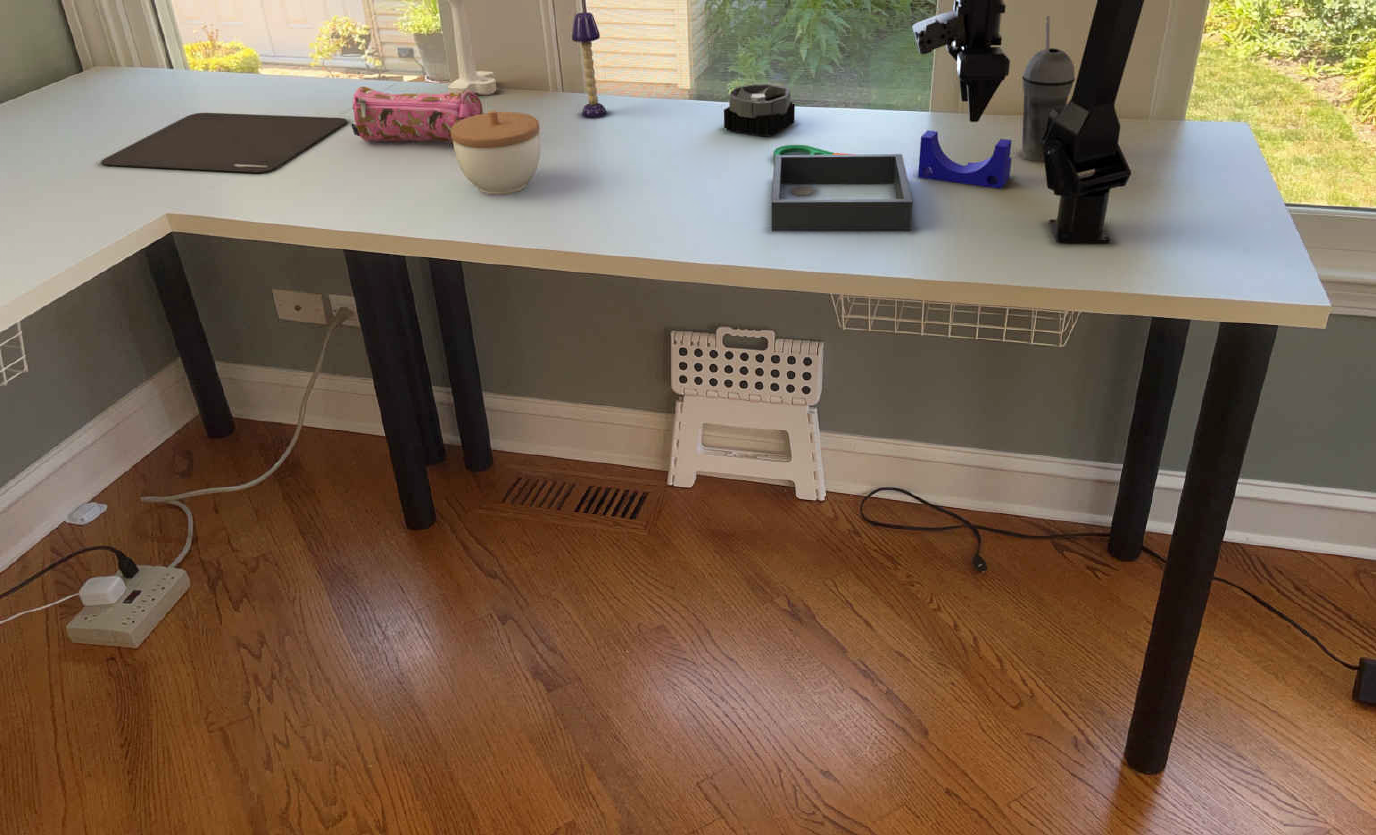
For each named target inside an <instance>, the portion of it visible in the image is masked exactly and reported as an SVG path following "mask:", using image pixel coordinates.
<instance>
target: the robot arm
mask: <svg viewBox="0 0 1376 835" xmlns="http://www.w3.org/2000/svg"><path fill="white" fill-rule="evenodd" d="M1144 3H1145V0H1096V5H1095V8H1094V12H1093V15H1092V20H1091V24H1090V26H1089V31H1088V34H1087V37H1086V38H1087V39H1086V42H1085V46H1084V50H1083V54H1082V58H1081V61H1080V65H1079V69H1078V72H1077V77H1076V79H1075V84H1074V88H1073V92H1072V95H1071V99H1070V100H1069V101H1067V103H1066V106H1062V107H1058V108H1053V109H1051V111H1050V113H1049V115H1048V121H1047V128H1046V131H1045V133H1044V135H1043V137H1042V140H1045V143H1044V147H1043V156H1044V161H1043V162H1044V169H1045V170H1044V172H1045V179H1046V187H1047V189H1049V190H1051V191H1053V195H1055V196H1059V204H1058V209H1057V217H1056V219H1055V218H1054V219H1049V220H1048V222H1047V223H1048V226H1049V228H1050V231H1051V232H1052V234H1053V237H1054V239H1055V241H1056V242H1057V243H1060V244H1062V243H1063V244H1066V243H1067V244H1079V243H1080V244H1107V243H1110V242H1111V239H1112V238H1111V236H1110V235H1109V232H1108V231H1107V228H1105V222H1106V221H1105V220H1106V215H1107V209H1108V204H1109V199H1110V192H1111V189H1115V188H1119V187H1121V188H1122V187H1125V186H1126V185H1127V183H1128V181H1129V179H1130V178H1131V176H1132V171H1131V168H1130V166H1129V164H1128V162H1127V160H1126V157H1125V155H1124V153H1123V151H1122V149H1121V147H1120V144H1119V139H1120V134H1121V133H1120V132H1121V123H1120V119H1119V116H1118V113H1117V110H1116V107H1115V105H1116V100H1117V96H1118V93H1119V89H1120V86H1121V82H1122V79H1123V75H1124V72H1125V70H1126V69H1125V68H1126V65H1127V62H1128V60H1129V59H1128V58H1129V54H1130V52H1131V48H1132V45H1133V41H1134V38H1135V34H1136V30H1137V28H1138V25H1139V21H1140V17H1141V13H1142V10H1143V5H1144ZM1006 6H1007V5H1006V3H1005V2H1004V0H953V7H952V8H953V9H952V10H949V11H946V12H943V13H939V14H936V15H934V16H931V17H929V18H925V19H923V20H920V21H918V22H916V23H914V24H913V25H912V26H911V27H912V31H913V34H914V37H915V42H916V45H917V48H918V51H919V54H920V55H928V54H930V53H932V51H934V50H936V49H940V48H943V47H944V46H946V50H947V52H948V54H950V56H951V57H952V58H953V59H954V60H955V61H956V74H957V76H958V82H959V83H958V84H959V91H960V99H961V101H962V102H967V104H968V106H967V108H968V117H969V118H968V119H969V122H971V123H978V122H979V121H980V119H981V118H982V116H983V114H984V112H985V110H986V108H987V107H988V105H989V103H990V102H991V100H992V98H993V96H994V95H995V93H996V92H997V90H998V88H999V87H1000V85H1001V84H1002V82H1003V81H1004V80H1005V79H1006V77H1008V76H1009V75H1010V74H1009V72H1010V66H1011V60H1010V58H1009V57H1008V54H1007V53H1006V52H1005V51H1004V50H1003V48H1001V47H1000V46H1002V41H1003V37H1002V35H1001V24H1002V14H1005V13H1006ZM1092 170H1094V171H1092ZM1088 171H1092V172H1088ZM1085 172H1087V173H1085ZM1081 173H1083V174H1081Z"/></svg>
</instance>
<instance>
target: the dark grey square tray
mask: <svg viewBox="0 0 1376 835" xmlns="http://www.w3.org/2000/svg"><path fill="white" fill-rule="evenodd" d="M772 172H773V174H772V187H771V189H772V190H771V203H770V204H771V207H770V208H771V210H770V211H771V217H770V218H771V226H770V227H771V228H770V229H771V230H770V231H771V232H910V231H911V229H912V228H911V227H912V215H913V214H912V212H913V198H912V194H911V189H910V185H909V180H908V176H907V171H906V166H905V163H904V157H903V154H902V153H879V154H878V153H876V154H872V153H870V154H869V153H868V154H867V153H865V154H858V155H810V154H783V155H775V156H774V155H773V171H772ZM838 184H839V185H843V184H844V185H849V184H850V185H853V184H856V185H860V184H868V185H869V184H870V185H871V184H873V185H874V184H893V188H894V192H895V197H896V198H871V199H870V198H861V199H860V198H859V199H858V198H857V199H856V198H847V199H846V198H844V199H843V198H842V199H840V198H839V199H838V198H837V199H826V198H825V199H817V198H816V199H781V196H782V185H838ZM813 192H814V191H813V189H812V188H810V187H806V186H805V187H804V186H801V187H795V188H793V189H791V194H792V195H795V196H801V197H802V196H803V197H804V196H809V195H812V194H813Z"/></svg>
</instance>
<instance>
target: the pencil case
mask: <svg viewBox="0 0 1376 835" xmlns="http://www.w3.org/2000/svg"><path fill="white" fill-rule="evenodd" d="M352 99H353V100H352V110H353V117H354V123H355V124H354V123H351V124H350V126H351V129H352V132H353V135H355V136H357V137H360V139H362V140H364V141H366V142H369V141H372V142H373V141H374V142H389V141H392V142H393V141H394V142H410V141H417V142H432V141H435V142H446V143H451V144H454V143H453V139H452V137H451V128H452V126H453V125H454V124H455V123H457V122H459V121H461V120H463V119H465V118H468V117H472V116H475V115H480V114H484V109H483V104H482V101H481V99H480V97H479V95H478V94H477V93H473V92H470V91H463V92H461V93H449V92H446V93H445V92H444V93H440V94H439V93H427V92H426V93H425V92H424V93H394V94H392V93H386V92H382V91H379V90H377V89H376V90H375V89H372V88H370V87H368V86H360V87H357V89H356V90H355V93H353V98H352Z"/></svg>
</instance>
